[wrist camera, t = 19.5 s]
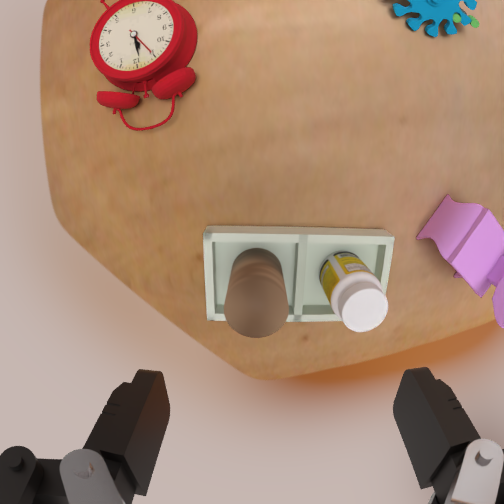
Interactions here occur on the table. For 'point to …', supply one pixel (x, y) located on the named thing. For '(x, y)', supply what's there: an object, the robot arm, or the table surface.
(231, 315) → the walnut dowel
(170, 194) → the table surface
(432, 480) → the robot arm
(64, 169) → the table surface
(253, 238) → the slot rack
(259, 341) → the table surface
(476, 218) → the toy chair
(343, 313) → the supplement bottle
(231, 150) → the table surface
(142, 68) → the alarm clock
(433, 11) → the gear
